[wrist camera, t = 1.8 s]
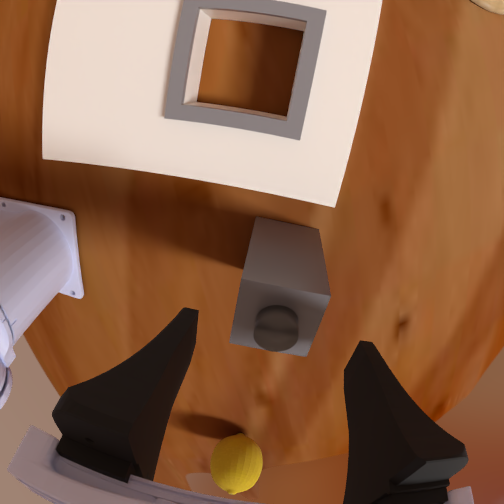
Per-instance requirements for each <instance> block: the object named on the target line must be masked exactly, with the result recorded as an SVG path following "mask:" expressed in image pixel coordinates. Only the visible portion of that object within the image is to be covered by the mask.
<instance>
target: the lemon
mask: <svg viewBox="0 0 504 504" xmlns="http://www.w3.org/2000/svg"><path fill="white" fill-rule="evenodd" d="M261 470H262V453H261V450H260V448H259V446H258V445H257V444H256V443H255V442H254V441H253V440H252V439H250V438H248V437H246V436H245V435H244V434H243V433H238V434H237V435H232V436H229V437H226V438H224V439H223V440H221V441H220V442H219V443H218V444H217V445H216V447H215V449H214V451H213V453H212V456H211V475H212V478H213V480H214V481H215V483H216V484H217V485H218V486H219V487H220V488H222V489H223V490H225V491H227V492H228V493H229V494H232V495H233V494H236V493H238V492H243V491H246V490H248V489H249V488H251V487H252V486H253V485H254V484H255V483H256V481H257V480H258V478H259V476H260V473H261Z"/></svg>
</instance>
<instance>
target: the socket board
mask: <svg viewBox="0 0 504 504" xmlns="http://www.w3.org/2000/svg"><path fill="white" fill-rule="evenodd" d="M381 5H382V0H57V3H56V8H55V13H54V18H53V23H52V29H51V35H50V41H49V48H48V56H47V64H46V74H45V85H44V99H43V125H42V153H43V159H49V160H59V161H68V162H77V163H86V164H94V165H102V166H110V167H118V168H125V169H132V170H139V171H146V172H153V173H159V174H166V175H172V176H178V177H184V178H190V179H196V180H202V181H208V182H213V183H219V184H224V185H230V186H235V187H240V188H245V189H250V190H256V191H261V192H266V193H270V194H275V195H280V196H285V197H290V198H294V199H299V200H303V201H308V202H312V203H317V204H321V205H326V206H330V207H334V208H335V205H336V202H337V198H338V194H339V191H340V187H341V184H342V180H343V176H344V173H345V169H346V165H347V161H348V158H349V154H350V150H351V146H352V142H353V138H354V134H355V130H356V126H357V122H358V118H359V114H360V109H361V105H362V101H363V96H364V92H365V87H366V83H367V78H368V73H369V69H370V64H371V59H372V54H373V49H374V44H375V39H376V33H377V28H378V22H379V17H380V11H381ZM211 18H212V19H225V20H235V21H244V22H252V23H259V24H266V25H272V26H278V27H284V28H289V29H295V30H300V31H304V34H303V39H302V44H301V49H300V54H299V59H298V64H297V69H296V73H295V78H294V83H293V88H292V93H291V98H290V103H289V108H288V113H287V117H286V116H281V115H276V114H271V113H266V112H261V111H255V110H249V109H243V108H237V107H231V106H224V105H217V104H209V103H201V102H197V96H198V90H199V83H200V77H201V71H202V65H203V59H204V54H205V48H206V43H207V38H208V32H209V27H210V22H211Z"/></svg>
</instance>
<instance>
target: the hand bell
mask: <svg viewBox="0 0 504 504" xmlns="http://www.w3.org/2000/svg"><path fill="white" fill-rule="evenodd" d="M471 1H472V2H474V3H475V4H477V5H478V6H480V7H482V8H484V9H485V10H488V11H490V12H493V13H497V14H501V15H504V0H471Z"/></svg>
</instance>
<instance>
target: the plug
mask: <svg viewBox="0 0 504 504" xmlns="http://www.w3.org/2000/svg"><path fill="white" fill-rule="evenodd" d="M330 297H331V294H330V288H329V282H328V276H327V271H326V265H325V260H324V254H323V249H322V243H321V238H320V233H319V229H314V228H310V227H305V226H300V225H296V224H291V223H286V222H281V221H276V220H272V219H267V218H262V217H257V216H256V219H255V223H254V227H253V232H252V236H251V240H250V244H249V248H248V253H247V257H246V261H245V265H244V269H243V274H242V278H241V283H240V288H239V294H238V299H237V304H236V310H235V315H234V320H233V326H232V331H231V336H230V342H229V343H233V344H238V345H243V346H248V347H253V348H258V349H264V350H268V351H274V352H281V353H287V354H293V355H299V356H305V357H306V356H307V354H308V351H309V349H310V347H311V344H312V342H313V340H314V337H315V335H316V332H317V330H318V327H319V325H320V322H321V320H322V317H323V315H324V312H325V310H326V307H327V305H328V302H329V299H330Z"/></svg>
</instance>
